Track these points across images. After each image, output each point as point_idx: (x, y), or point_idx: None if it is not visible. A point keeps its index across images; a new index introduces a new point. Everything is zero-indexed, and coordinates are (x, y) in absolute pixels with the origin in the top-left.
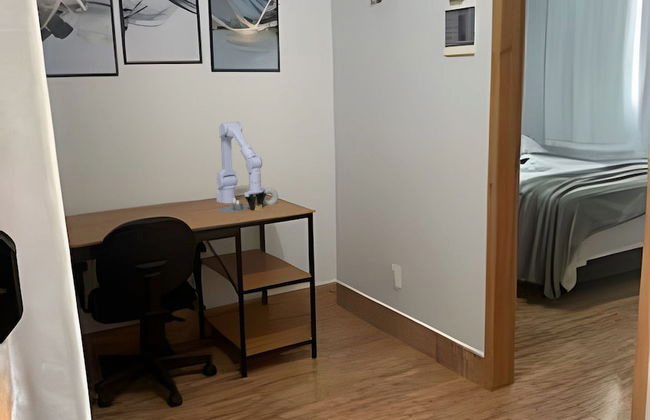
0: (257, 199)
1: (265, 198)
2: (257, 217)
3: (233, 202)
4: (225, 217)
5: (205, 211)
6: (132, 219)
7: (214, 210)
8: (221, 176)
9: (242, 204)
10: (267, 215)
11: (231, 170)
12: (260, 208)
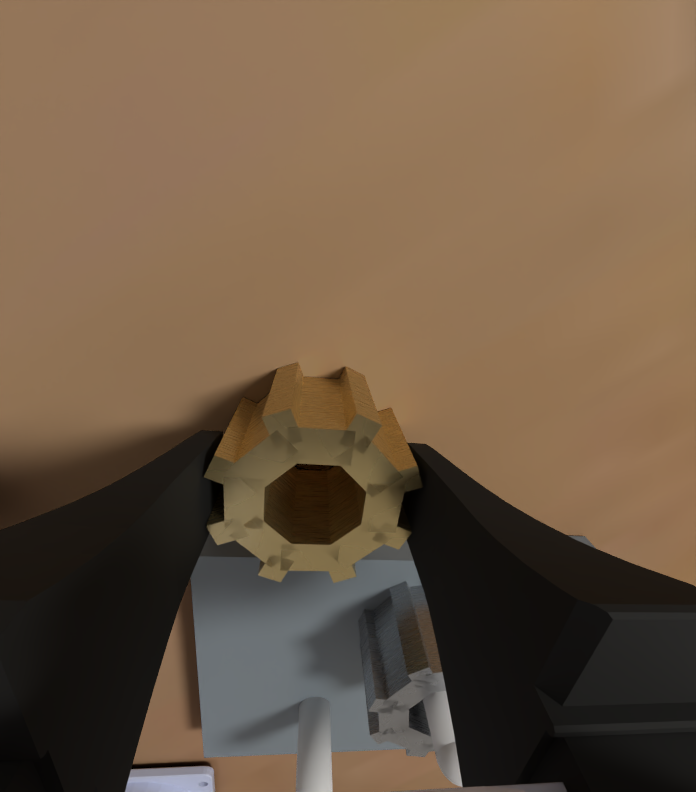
0: (170, 619)
1: None
2: (667, 215)
3: (331, 780)
4: (655, 568)
5: (443, 776)
6: None
7: None
8: None
9: (429, 656)
10: (507, 114)
11: None
12: (309, 399)
